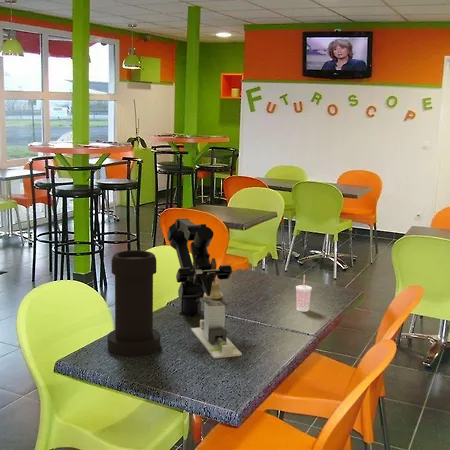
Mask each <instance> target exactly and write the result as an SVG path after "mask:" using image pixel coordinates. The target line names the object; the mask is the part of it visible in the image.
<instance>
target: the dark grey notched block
mask: <svg viewBox="0 0 450 450" xmlns="http://www.w3.org/2000/svg"><path fill="white" fill-rule="evenodd" d="M227 334H228V333H227V330H226V329H225V328H224V329H218V330H210V334H209V342H210V343H211V344H215V336H221V338H222V339H223V341H225V342H226V337H227ZM227 338H228V337H227Z"/></svg>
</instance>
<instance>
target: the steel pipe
mask: <svg viewBox="0 0 450 450" xmlns="http://www.w3.org/2000/svg"><path fill="white" fill-rule="evenodd" d="M203 326H204V323H203ZM215 340H216V341H217V342H218V343H219V345H220V346H221V347H222V345H227V343H226V342H225V341H223V339H222V338H221V337H220V336H215Z"/></svg>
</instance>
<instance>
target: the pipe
mask: <svg viewBox="0 0 450 450" xmlns="http://www.w3.org/2000/svg"><path fill="white" fill-rule="evenodd" d="M156 273H157V257H156V255H155V254H154V253H153V252H151V251H147V250H138V249H137V250H136V249H135V250H133V249H132V250H122V251H118V252H115V253H114V254H112V258H111V274H112V275H114V305H115V306H114V317H115V318H114V325H115V327H114V329H113V330H112V331H110V332H109V333H108V334H107V350H108V351H109V352H110V353H112V354H114V355H117V356H122V357H142V356H147V355H150V354H154V353H156V352H157V351H159V349H160V347H161V333H160V331H158V330H156V329H154V327H153V326H154V319H153V318H154V297H153V296H154V275H155V274H156Z"/></svg>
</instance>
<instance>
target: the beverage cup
mask: <svg viewBox="0 0 450 450" xmlns="http://www.w3.org/2000/svg"><path fill="white" fill-rule="evenodd" d="M305 280H306V274H303V284H302V285H301V284H300V285H296V286H295V290H296V294H295V295H296V311H298V312H308V311H309V309H310V304H311V303H310V302H311V294H312V289H313V287H312V286H309V285H307V284H306V285H305Z"/></svg>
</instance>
